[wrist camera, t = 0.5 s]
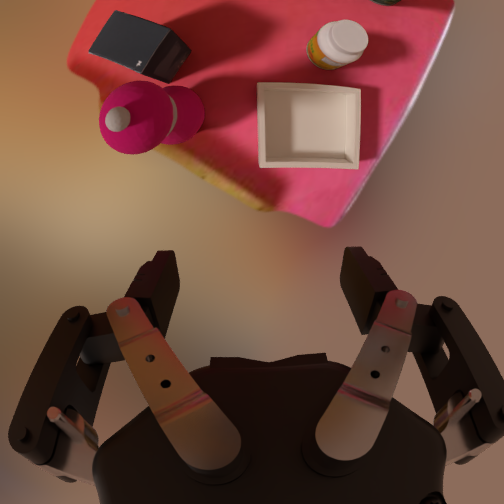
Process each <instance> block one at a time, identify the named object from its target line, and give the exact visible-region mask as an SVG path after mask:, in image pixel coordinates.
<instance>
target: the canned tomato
mask: <svg viewBox="0 0 504 504" xmlns="http://www.w3.org/2000/svg"><path fill="white" fill-rule="evenodd" d="M370 1H372V2H374V3H376V4H380V5H385V6H390V5H394V4H396V3H397V2H399V1H401V0H370Z"/></svg>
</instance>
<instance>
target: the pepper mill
mask: <svg viewBox="0 0 504 504" xmlns="http://www.w3.org/2000/svg"><path fill="white" fill-rule="evenodd" d="M204 117H205V109H204V105H203V103H202V101H201V99H200V98H199V96H198V95H197V94H196V93H195V92H194V91H192V90H191V89H189V88H186V87H183V86H168V87H164V88H161V87H160V86H158V85H156V84H154V83H151V82H148V81H133V82H129V83H126V84H124V85H122V86H120V87H118V88H116V89H115V90H114V91H113V92H112V93H111V94H110V95H109V96H108V97H107V99H106V100H105V101H104V103H103V105H102V108H101V111H100V116H99V125H100V131H101V134H102V136H103V138H104V140H105V141H106V143H107V144H108V145H109V146H110V147H112V148H113V149H115V150H116V151H118V152H121V153H124V154H140V153H144V152H147V151H149V150H151V149H153V148H155V147H156V146H158V145H159V144H160V143H163V144H179V143H182V142H185V141H187V140H189V139H190V138H192V137H193V136H194V135H195V134H196V133H197V131H198V130H199V129H200V127H201V125H202V123H203V121H204Z"/></svg>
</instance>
